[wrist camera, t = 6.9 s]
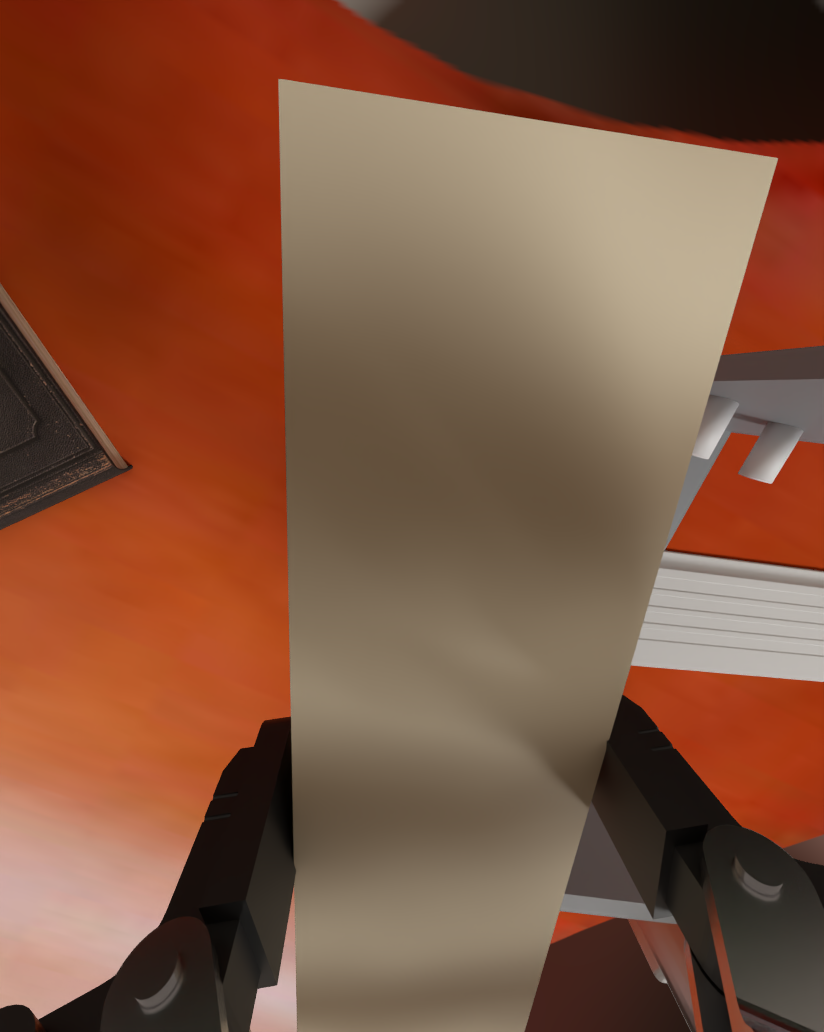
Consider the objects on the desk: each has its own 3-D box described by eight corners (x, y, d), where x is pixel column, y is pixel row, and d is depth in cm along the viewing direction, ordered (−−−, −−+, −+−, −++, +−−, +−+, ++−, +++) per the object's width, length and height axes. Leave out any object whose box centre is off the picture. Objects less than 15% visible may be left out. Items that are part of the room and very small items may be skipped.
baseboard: (650, 528, 32) (605, 652, 35) (676, 541, 29) (624, 675, 32) (954, 570, 36) (886, 677, 39) (1002, 585, 33) (924, 699, 37)
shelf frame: (569, 697, 36) (713, 928, 20) (468, 674, 34) (545, 909, 19) (725, 414, 28) (1124, 444, 13) (609, 365, 27) (918, 336, 12)
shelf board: (479, 926, 15) (509, 1082, 11) (317, 937, 14) (298, 1105, 11) (614, 253, 8) (777, 158, 5) (322, 216, 8) (278, 79, 4)
